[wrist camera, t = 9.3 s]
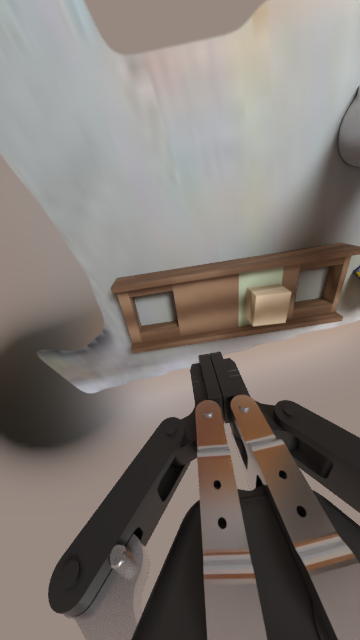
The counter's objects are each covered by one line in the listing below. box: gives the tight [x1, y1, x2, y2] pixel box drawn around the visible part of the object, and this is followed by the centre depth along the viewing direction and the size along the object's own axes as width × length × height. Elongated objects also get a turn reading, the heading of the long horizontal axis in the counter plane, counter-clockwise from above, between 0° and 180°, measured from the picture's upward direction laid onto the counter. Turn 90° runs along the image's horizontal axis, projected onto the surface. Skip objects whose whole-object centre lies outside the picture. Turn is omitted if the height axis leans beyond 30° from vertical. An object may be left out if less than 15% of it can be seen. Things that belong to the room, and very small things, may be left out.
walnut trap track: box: [111, 243, 360, 353], centre depth 38 cm, size 14×42×5 cm, turn 98°
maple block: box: [245, 284, 292, 326], centre depth 37 cm, size 6×6×4 cm
